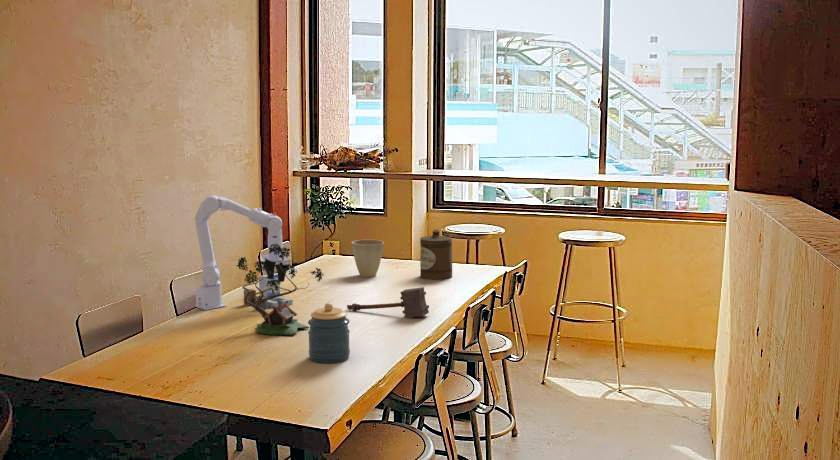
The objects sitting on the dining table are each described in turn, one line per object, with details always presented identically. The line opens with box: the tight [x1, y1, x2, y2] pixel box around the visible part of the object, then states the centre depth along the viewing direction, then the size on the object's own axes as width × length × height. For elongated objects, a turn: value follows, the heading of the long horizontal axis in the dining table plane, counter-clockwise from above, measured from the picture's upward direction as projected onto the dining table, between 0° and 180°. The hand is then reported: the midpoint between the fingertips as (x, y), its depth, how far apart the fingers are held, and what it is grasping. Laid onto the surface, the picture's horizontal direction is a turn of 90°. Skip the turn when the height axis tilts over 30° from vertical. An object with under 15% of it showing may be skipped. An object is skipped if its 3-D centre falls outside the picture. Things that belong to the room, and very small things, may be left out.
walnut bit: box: [243, 288, 257, 307], centre depth 341 cm, size 3×3×6 cm
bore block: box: [267, 296, 294, 309], centre depth 341 cm, size 9×9×2 cm
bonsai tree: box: [235, 243, 325, 337], centre depth 296 cm, size 35×24×32 cm
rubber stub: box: [258, 297, 268, 311], centre depth 334 cm, size 3×3×4 cm
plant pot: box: [351, 239, 385, 278], centre depth 397 cm, size 15×15×16 cm
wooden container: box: [419, 229, 453, 281], centre depth 395 cm, size 15×15×22 cm
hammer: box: [346, 286, 430, 319], centre depth 326 cm, size 7×33×10 cm, turn 68°
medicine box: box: [258, 272, 281, 298], centre depth 358 cm, size 8×4×9 cm, turn 143°
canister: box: [307, 302, 351, 364], centre depth 268 cm, size 13×13×18 cm
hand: (276, 280), depth 340 cm, fingers open, 7 cm apart
